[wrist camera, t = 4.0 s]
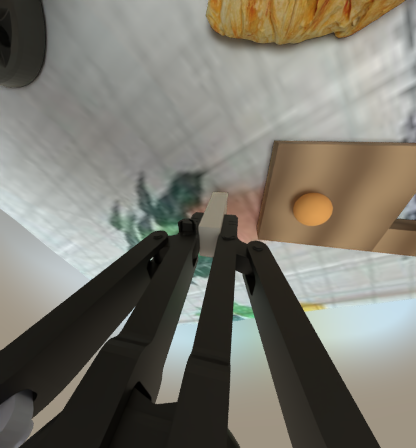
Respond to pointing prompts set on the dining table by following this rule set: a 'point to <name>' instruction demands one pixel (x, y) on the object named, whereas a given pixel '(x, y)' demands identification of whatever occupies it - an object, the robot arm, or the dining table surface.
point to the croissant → (293, 18)
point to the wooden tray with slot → (342, 194)
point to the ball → (312, 209)
